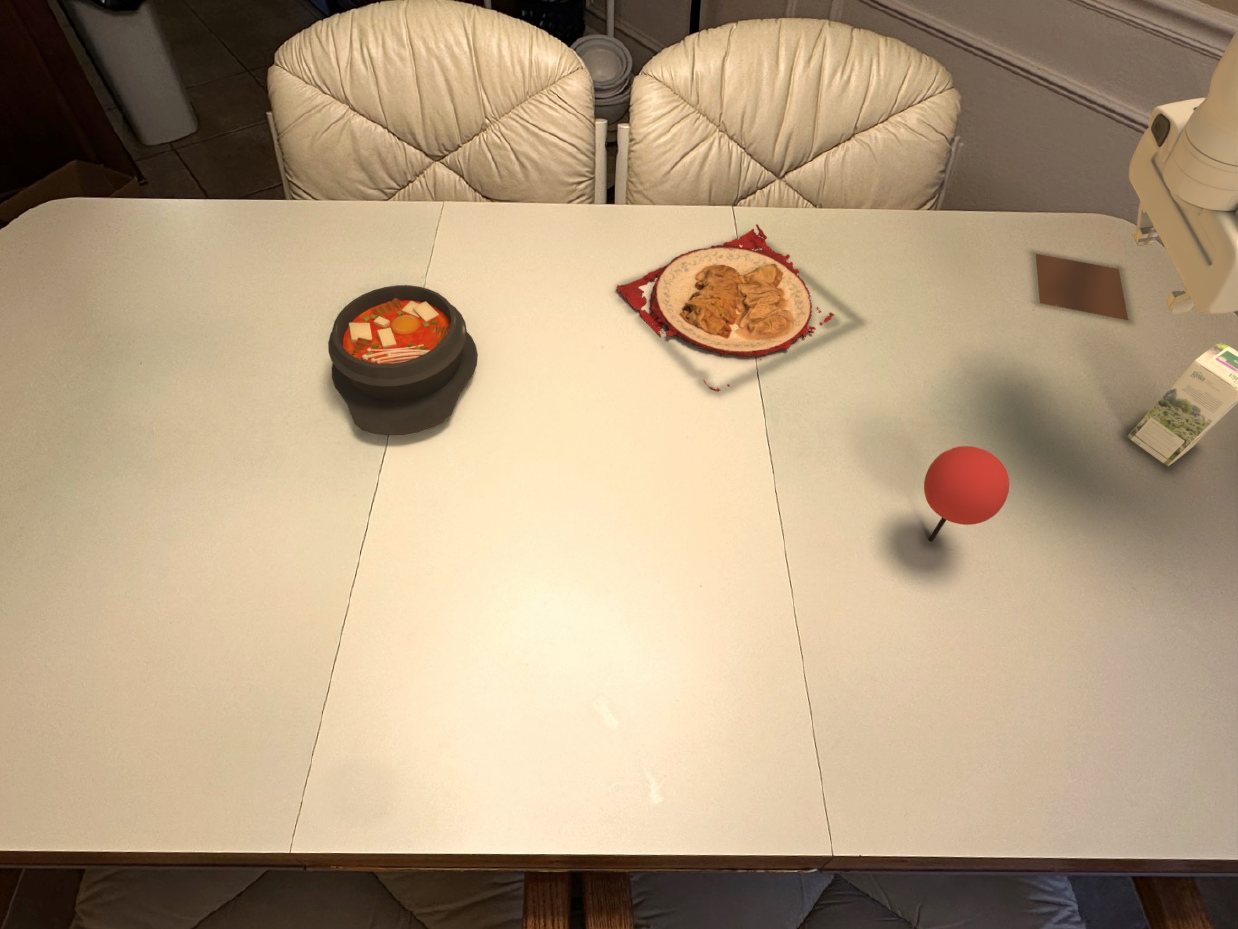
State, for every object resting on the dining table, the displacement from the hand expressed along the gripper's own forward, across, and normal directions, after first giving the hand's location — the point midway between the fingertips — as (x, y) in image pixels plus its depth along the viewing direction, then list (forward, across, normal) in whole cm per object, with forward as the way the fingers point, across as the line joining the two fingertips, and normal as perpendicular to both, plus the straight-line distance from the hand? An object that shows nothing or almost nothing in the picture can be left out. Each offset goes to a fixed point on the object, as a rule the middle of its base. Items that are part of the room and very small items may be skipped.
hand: (1158, 273), depth 77 cm
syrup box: (+24, -8, -7) cm, 26 cm away
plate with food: (+17, +17, +43) cm, 49 cm away
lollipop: (+16, -21, +25) cm, 36 cm away
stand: (+28, +22, -8) cm, 37 cm away
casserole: (+7, +5, +86) cm, 87 cm away
